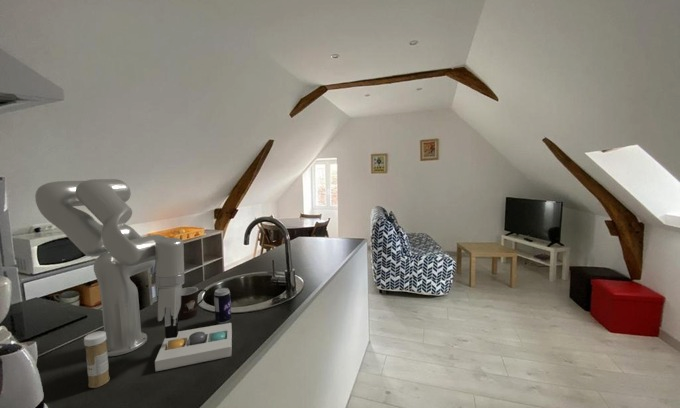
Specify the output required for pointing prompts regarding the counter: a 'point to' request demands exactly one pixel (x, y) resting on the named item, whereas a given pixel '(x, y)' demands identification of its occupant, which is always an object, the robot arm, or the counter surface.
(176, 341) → the orange button
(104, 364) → the sprinkles bottle
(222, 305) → the beverage can
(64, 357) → the counter surface
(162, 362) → the panel
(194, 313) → the coffee mug
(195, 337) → the charcoal button
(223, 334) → the teal button
